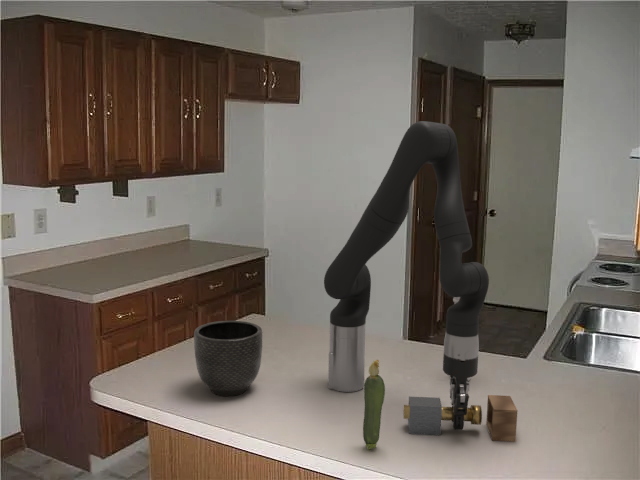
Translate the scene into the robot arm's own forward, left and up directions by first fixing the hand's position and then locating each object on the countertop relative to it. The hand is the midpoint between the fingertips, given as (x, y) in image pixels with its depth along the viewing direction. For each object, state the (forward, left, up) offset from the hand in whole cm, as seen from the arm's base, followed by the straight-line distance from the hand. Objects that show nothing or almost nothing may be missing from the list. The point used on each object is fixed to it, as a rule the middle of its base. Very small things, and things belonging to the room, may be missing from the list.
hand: (457, 425), depth 153 cm
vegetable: (-19, -10, -2) cm, 21 cm away
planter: (-56, +18, -2) cm, 59 cm away
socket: (+10, 0, -1) cm, 10 cm away
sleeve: (-7, 0, -1) cm, 8 cm away
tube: (-3, 0, +1) cm, 4 cm away
